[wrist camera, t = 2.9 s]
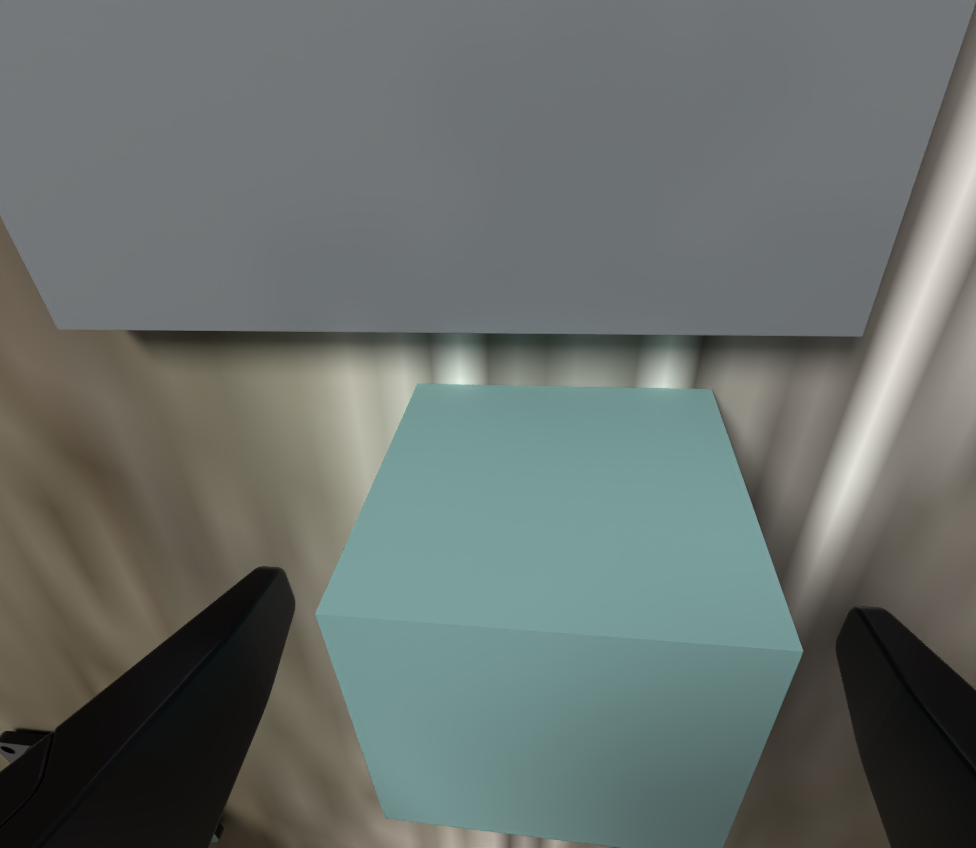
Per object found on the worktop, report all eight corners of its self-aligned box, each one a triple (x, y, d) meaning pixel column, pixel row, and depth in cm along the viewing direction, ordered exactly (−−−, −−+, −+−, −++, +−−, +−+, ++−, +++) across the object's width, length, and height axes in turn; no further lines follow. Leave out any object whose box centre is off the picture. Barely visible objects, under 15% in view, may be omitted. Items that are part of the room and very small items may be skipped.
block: (673, 587, 13) (717, 860, 9) (445, 572, 13) (384, 818, 9) (710, 386, 10) (803, 651, 6) (418, 381, 10) (315, 613, 6)
